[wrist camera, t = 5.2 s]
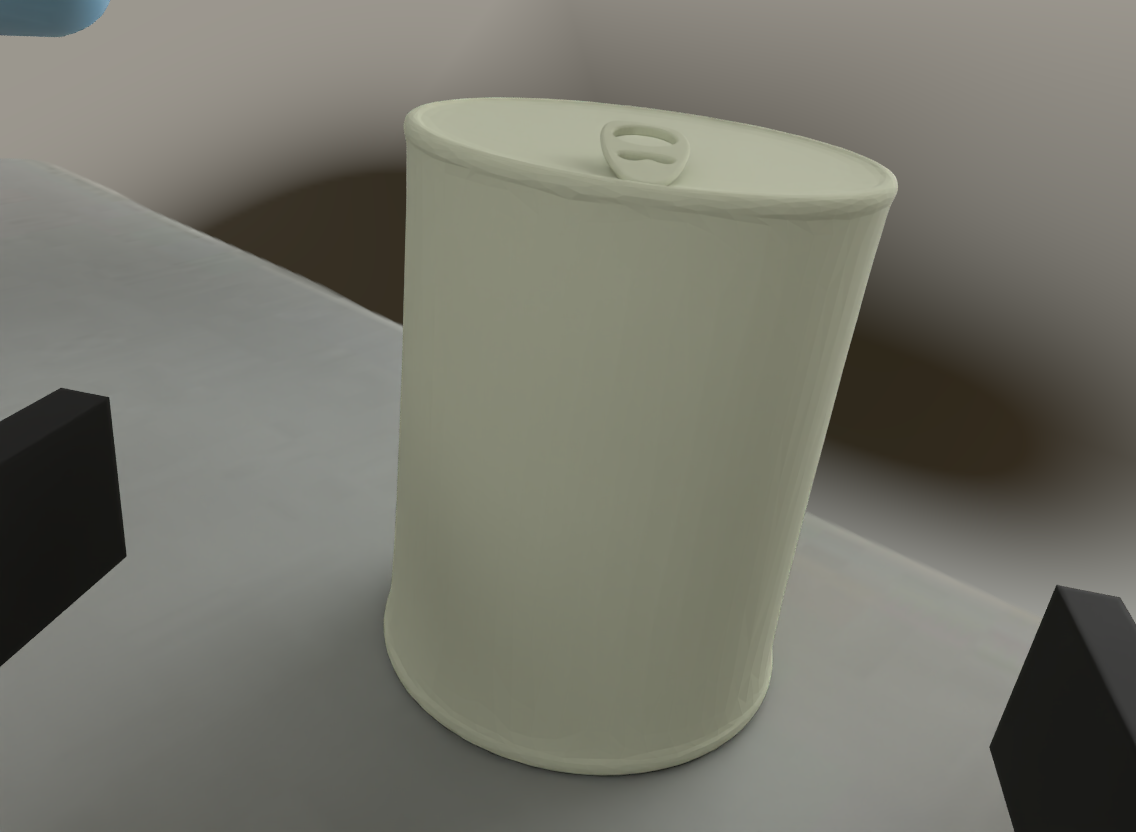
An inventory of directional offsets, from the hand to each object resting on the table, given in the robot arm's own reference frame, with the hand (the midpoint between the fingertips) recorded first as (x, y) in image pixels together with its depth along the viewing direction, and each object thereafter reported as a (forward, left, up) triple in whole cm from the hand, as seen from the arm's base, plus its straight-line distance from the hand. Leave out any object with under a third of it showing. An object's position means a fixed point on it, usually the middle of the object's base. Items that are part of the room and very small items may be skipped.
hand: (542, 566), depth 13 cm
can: (-4, +6, -7) cm, 10 cm away
